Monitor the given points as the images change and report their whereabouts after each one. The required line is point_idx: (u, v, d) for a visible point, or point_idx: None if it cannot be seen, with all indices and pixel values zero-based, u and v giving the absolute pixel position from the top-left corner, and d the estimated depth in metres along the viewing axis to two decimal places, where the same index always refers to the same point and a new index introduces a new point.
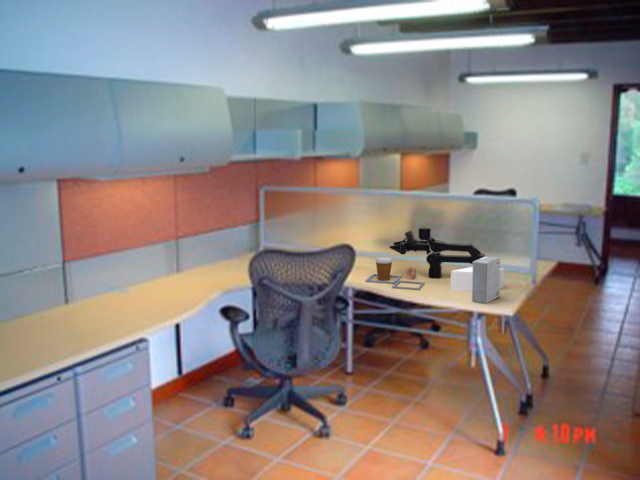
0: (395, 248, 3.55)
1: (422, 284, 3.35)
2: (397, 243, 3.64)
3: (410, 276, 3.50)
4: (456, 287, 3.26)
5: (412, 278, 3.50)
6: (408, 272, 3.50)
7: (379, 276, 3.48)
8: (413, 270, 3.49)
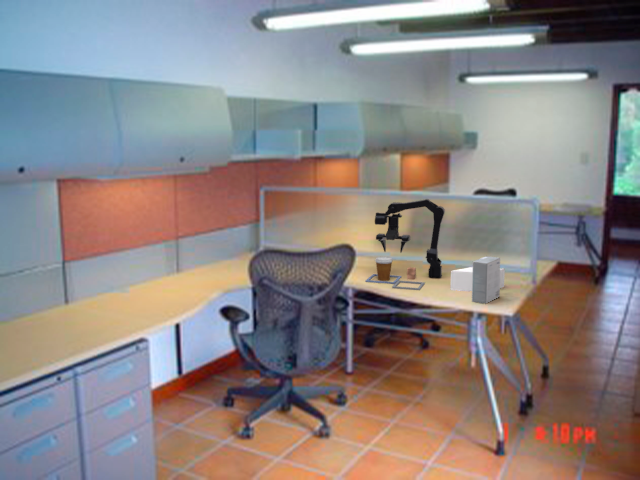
0: (403, 246, 3.57)
1: (422, 284, 3.35)
2: (385, 247, 3.61)
3: (410, 276, 3.50)
4: (456, 287, 3.26)
5: (412, 278, 3.50)
6: (408, 272, 3.50)
7: (379, 276, 3.48)
8: (413, 270, 3.49)
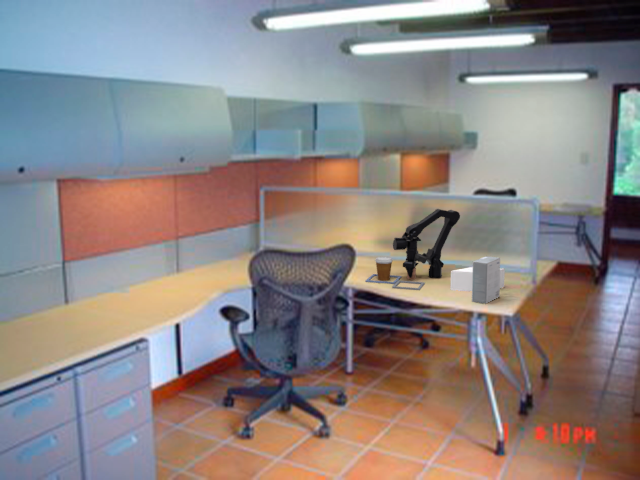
0: None
1: (422, 284, 3.35)
2: None
3: None
4: (456, 287, 3.26)
5: (412, 278, 3.50)
6: None
7: (379, 276, 3.48)
8: (413, 270, 3.49)
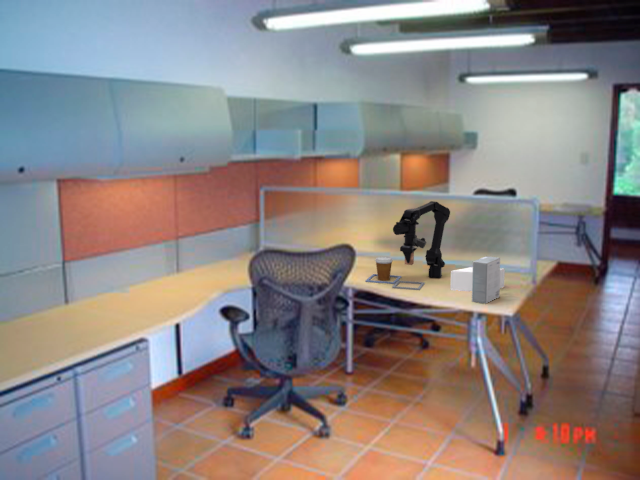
0: None
1: (422, 284, 3.35)
2: None
3: None
4: (456, 287, 3.26)
5: (410, 263, 3.38)
6: None
7: (379, 276, 3.48)
8: (411, 255, 3.38)
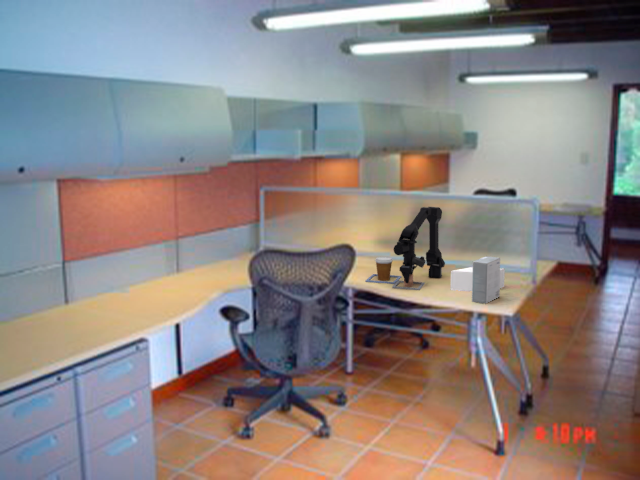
0: None
1: (422, 284, 3.35)
2: None
3: (407, 283, 3.34)
4: (456, 287, 3.26)
5: (409, 285, 3.34)
6: None
7: (379, 276, 3.48)
8: (410, 277, 3.33)
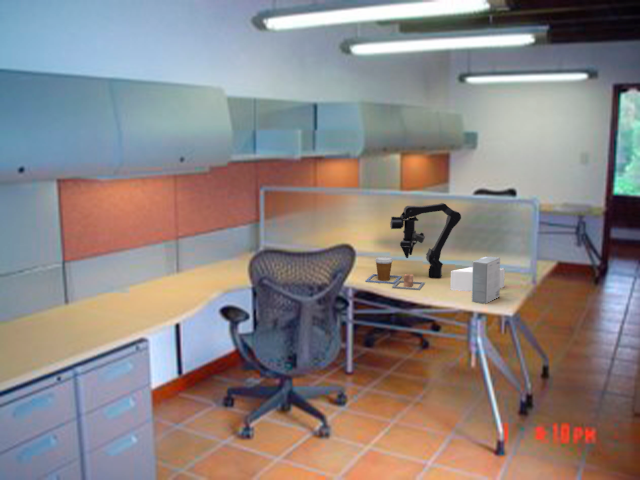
0: None
1: (422, 284, 3.35)
2: None
3: (407, 283, 3.34)
4: (456, 287, 3.26)
5: (409, 285, 3.34)
6: (405, 279, 3.34)
7: (379, 276, 3.48)
8: (410, 277, 3.33)
